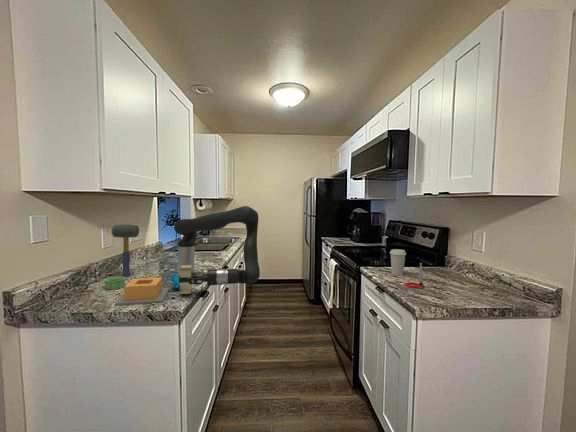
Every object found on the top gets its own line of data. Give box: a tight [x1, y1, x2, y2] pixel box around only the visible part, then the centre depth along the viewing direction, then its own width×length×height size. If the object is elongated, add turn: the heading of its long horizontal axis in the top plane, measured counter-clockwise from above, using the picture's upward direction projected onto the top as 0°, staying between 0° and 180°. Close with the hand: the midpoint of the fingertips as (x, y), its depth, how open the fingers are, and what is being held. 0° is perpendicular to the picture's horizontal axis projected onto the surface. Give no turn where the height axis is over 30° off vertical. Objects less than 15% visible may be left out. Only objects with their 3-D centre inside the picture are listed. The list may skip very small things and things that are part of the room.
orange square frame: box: [114, 277, 170, 307], centre depth 125 cm, size 18×18×7 cm
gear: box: [169, 273, 180, 291], centre depth 138 cm, size 11×6×10 cm
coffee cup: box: [389, 248, 407, 276], centre depth 173 cm, size 10×10×15 cm
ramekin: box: [104, 275, 126, 290], centre depth 139 cm, size 9×9×4 cm
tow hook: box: [403, 262, 425, 290], centre depth 148 cm, size 8×13×9 cm
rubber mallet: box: [111, 224, 140, 278], centre depth 159 cm, size 12×8×30 cm, turn 98°
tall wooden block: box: [179, 266, 193, 295], centre depth 129 cm, size 4×4×12 cm
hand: (180, 278), depth 129 cm, fingers closed on tall wooden block, 4 cm apart
